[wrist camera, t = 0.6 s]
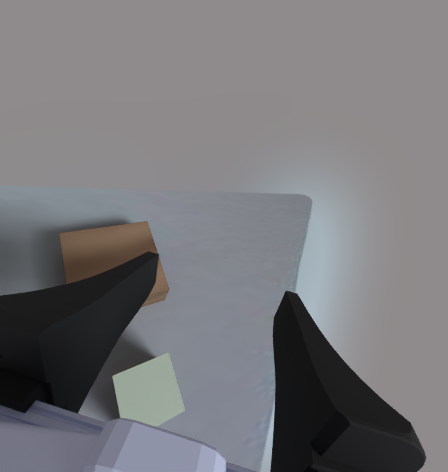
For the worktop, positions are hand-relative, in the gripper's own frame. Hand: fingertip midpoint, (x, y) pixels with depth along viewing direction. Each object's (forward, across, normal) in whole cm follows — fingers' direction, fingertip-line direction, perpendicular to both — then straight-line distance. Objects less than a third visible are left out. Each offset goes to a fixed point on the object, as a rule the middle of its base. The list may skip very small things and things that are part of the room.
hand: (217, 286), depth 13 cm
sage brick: (+2, +4, +17) cm, 18 cm away
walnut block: (+10, +12, +11) cm, 20 cm away
